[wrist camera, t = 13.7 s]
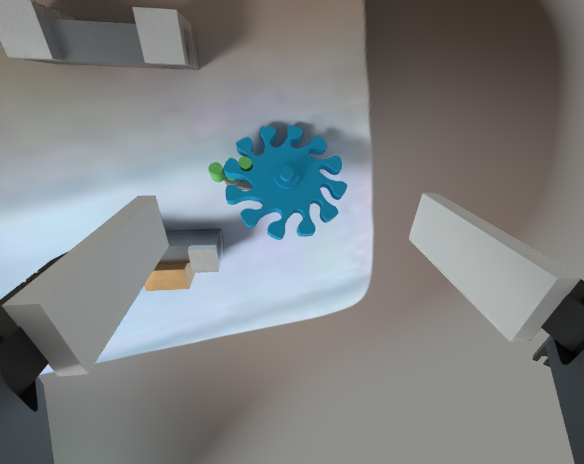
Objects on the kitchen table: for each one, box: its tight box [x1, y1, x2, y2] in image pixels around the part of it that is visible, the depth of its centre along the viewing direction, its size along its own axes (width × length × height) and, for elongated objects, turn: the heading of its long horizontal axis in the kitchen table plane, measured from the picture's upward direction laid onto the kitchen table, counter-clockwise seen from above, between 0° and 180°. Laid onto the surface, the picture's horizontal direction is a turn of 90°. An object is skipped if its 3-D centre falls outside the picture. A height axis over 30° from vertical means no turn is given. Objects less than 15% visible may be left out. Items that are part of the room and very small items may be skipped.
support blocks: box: [0, 0, 224, 291], centre depth 20 cm, size 10×21×4 cm, turn 178°
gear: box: [209, 125, 347, 240], centre depth 21 cm, size 11×6×10 cm
